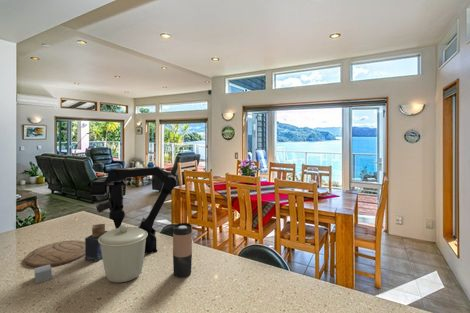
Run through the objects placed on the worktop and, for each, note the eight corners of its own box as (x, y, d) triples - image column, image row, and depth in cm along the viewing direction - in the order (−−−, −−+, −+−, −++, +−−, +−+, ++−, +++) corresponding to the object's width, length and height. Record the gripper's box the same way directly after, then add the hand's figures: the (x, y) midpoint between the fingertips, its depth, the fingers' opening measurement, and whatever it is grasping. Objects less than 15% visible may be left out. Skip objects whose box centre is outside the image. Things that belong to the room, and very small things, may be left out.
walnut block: (104, 231, 122) (104, 223, 122) (104, 235, 118) (104, 227, 117) (93, 233, 120) (92, 225, 120) (92, 237, 115) (92, 228, 115)
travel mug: (195, 270, 108) (195, 224, 107) (185, 279, 101) (186, 230, 100) (179, 267, 111) (179, 221, 109) (169, 276, 104) (169, 227, 102)
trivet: (51, 273, 105) (51, 268, 105) (11, 262, 113) (11, 257, 113) (101, 248, 128) (101, 244, 128) (66, 240, 137) (66, 237, 137)
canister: (98, 294, 91) (97, 236, 90) (99, 270, 107) (98, 220, 106) (151, 281, 100) (151, 228, 98) (144, 261, 116) (144, 215, 114)
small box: (97, 262, 114) (96, 239, 113) (84, 260, 115) (83, 238, 114) (113, 252, 124) (112, 230, 123) (101, 250, 125) (100, 229, 124)
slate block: (50, 273, 104) (50, 264, 104) (51, 279, 100) (51, 269, 100) (34, 278, 101) (34, 268, 100) (35, 283, 97) (35, 273, 97)
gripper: (97, 192, 125) (98, 223, 127) (95, 201, 109) (97, 236, 110) (122, 190, 130) (123, 220, 132) (124, 198, 114) (125, 232, 115)
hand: (117, 226), depth 122 cm, fingers open, 9 cm apart
